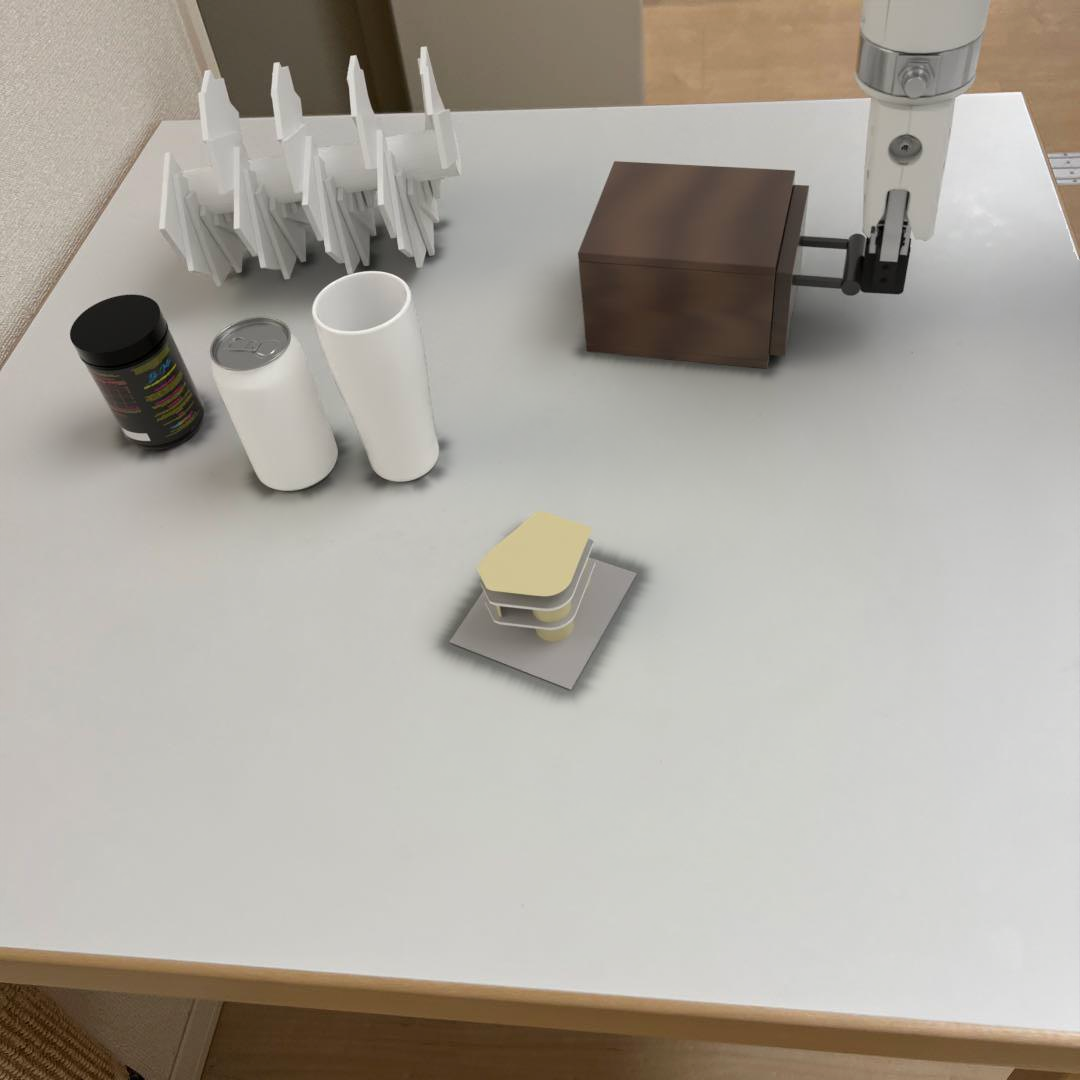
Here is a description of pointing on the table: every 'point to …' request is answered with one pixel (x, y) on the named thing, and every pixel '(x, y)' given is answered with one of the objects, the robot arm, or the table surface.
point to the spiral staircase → (306, 183)
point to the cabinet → (684, 262)
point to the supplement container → (139, 370)
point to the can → (273, 403)
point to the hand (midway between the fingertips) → (881, 286)
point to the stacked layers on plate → (543, 600)
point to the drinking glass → (380, 369)
